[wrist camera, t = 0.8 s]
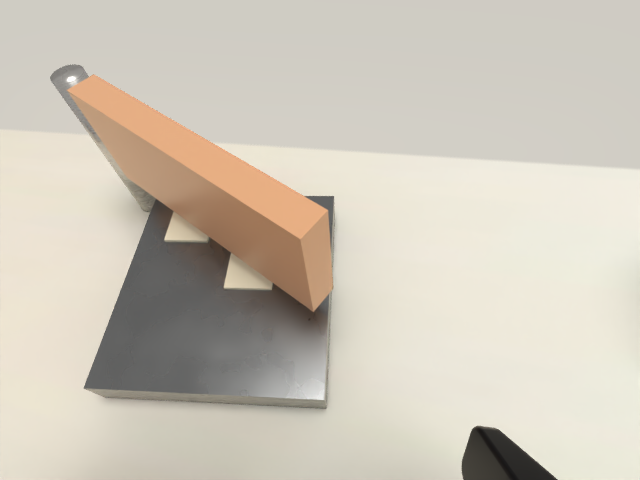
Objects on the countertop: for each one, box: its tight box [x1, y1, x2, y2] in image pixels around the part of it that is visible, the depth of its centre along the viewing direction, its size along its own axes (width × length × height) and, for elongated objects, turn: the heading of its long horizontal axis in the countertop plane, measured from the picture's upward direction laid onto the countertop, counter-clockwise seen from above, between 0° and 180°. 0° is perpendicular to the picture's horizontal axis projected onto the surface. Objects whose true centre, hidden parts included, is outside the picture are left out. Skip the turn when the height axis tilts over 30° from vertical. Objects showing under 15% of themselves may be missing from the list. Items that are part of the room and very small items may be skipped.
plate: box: [50, 65, 335, 408], centre depth 19 cm, size 14×14×10 cm
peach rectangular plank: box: [67, 75, 333, 312], centre depth 18 cm, size 2×14×6 cm, turn 52°
